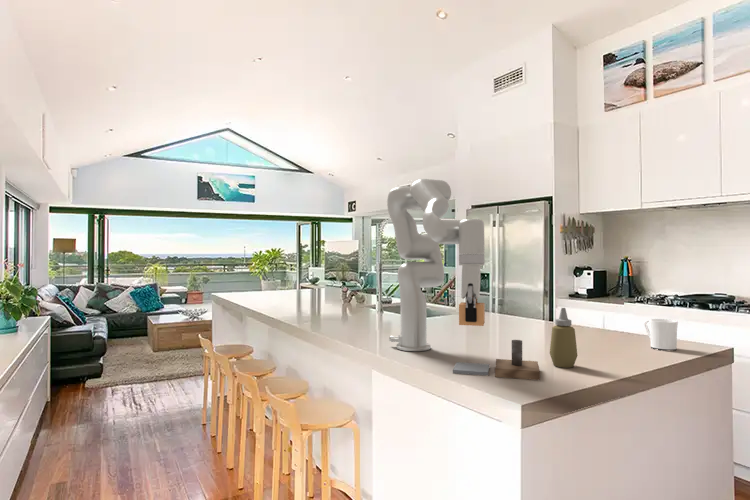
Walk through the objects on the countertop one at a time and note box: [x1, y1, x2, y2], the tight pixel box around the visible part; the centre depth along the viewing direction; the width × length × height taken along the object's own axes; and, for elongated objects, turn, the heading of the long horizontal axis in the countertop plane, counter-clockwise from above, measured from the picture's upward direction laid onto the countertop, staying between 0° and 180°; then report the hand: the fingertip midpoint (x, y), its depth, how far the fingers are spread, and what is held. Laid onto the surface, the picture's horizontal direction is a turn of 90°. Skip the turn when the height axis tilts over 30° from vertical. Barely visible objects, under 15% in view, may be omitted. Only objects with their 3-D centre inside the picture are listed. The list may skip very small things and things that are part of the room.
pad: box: [452, 361, 491, 376], centre depth 143 cm, size 10×10×1 cm
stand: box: [494, 339, 541, 381], centre depth 140 cm, size 12×12×10 cm
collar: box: [458, 301, 486, 327], centre depth 143 cm, size 7×7×6 cm
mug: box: [643, 318, 679, 351], centre depth 175 cm, size 11×9×10 cm
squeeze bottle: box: [549, 307, 578, 369], centre depth 148 cm, size 8×8×18 cm
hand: (472, 319), depth 143 cm, fingers closed on collar, 7 cm apart
